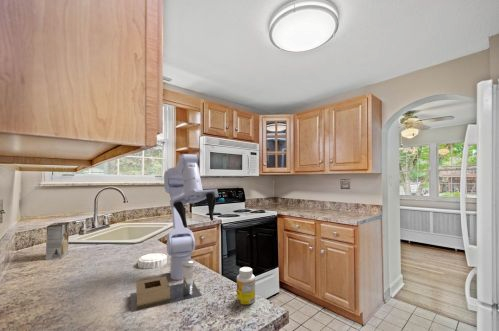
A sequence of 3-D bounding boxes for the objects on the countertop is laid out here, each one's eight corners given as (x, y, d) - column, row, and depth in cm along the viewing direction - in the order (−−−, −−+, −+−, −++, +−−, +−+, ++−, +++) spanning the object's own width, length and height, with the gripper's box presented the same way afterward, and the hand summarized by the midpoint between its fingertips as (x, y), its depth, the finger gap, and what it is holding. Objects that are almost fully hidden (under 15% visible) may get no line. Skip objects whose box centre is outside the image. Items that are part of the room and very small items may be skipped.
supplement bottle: (237, 299, 74) (237, 265, 74) (255, 299, 74) (254, 265, 74) (236, 308, 68) (236, 272, 69) (255, 308, 68) (255, 272, 69)
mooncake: (138, 262, 108) (138, 254, 109) (165, 258, 113) (165, 250, 113) (137, 271, 97) (137, 262, 98) (167, 266, 102) (167, 258, 102)
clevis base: (130, 296, 76) (131, 280, 76) (192, 283, 85) (192, 269, 85) (130, 315, 65) (131, 297, 65) (202, 298, 74) (202, 282, 74)
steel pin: (180, 291, 77) (180, 260, 77) (192, 288, 79) (192, 258, 79) (182, 296, 73) (183, 264, 74) (195, 294, 75) (195, 262, 76)
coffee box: (52, 254, 119) (54, 222, 120) (68, 253, 121) (69, 221, 122) (45, 260, 111) (46, 225, 112) (61, 258, 113) (63, 224, 114)
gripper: (165, 183, 71) (168, 223, 63) (212, 171, 73) (221, 210, 65) (172, 194, 77) (176, 233, 69) (215, 183, 79) (224, 220, 71)
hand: (198, 222), depth 68 cm, fingers open, 7 cm apart
